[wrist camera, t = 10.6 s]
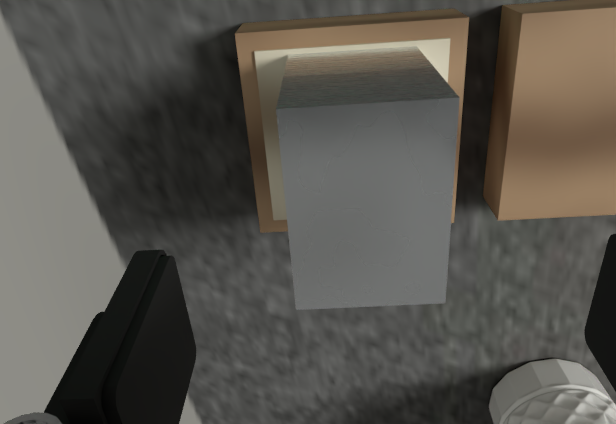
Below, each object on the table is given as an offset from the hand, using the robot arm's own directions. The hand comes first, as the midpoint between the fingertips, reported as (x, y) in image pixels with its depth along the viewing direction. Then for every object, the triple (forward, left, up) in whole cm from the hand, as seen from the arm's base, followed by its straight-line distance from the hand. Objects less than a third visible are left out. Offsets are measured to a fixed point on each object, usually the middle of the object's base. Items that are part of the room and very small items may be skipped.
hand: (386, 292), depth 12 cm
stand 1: (+1, 0, -14) cm, 14 cm away
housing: (+1, 0, -12) cm, 12 cm away
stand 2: (+1, +11, -14) cm, 18 cm away
